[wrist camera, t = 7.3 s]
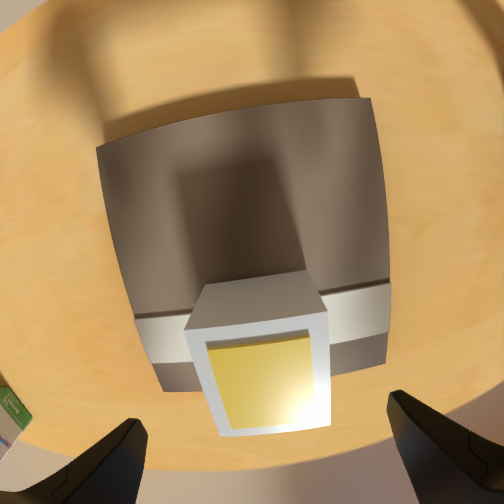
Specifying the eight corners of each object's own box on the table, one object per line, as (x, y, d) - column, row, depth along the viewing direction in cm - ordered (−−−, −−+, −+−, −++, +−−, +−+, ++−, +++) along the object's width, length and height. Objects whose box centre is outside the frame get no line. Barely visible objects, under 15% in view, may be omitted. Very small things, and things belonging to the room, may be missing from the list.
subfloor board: (362, 103, 13) (371, 96, 11) (378, 353, 16) (386, 365, 15) (106, 148, 14) (94, 147, 12) (168, 380, 17) (162, 393, 16)
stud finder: (307, 269, 14) (329, 313, 9) (315, 368, 15) (331, 427, 11) (205, 284, 14) (182, 333, 9) (229, 379, 15) (220, 439, 11)
